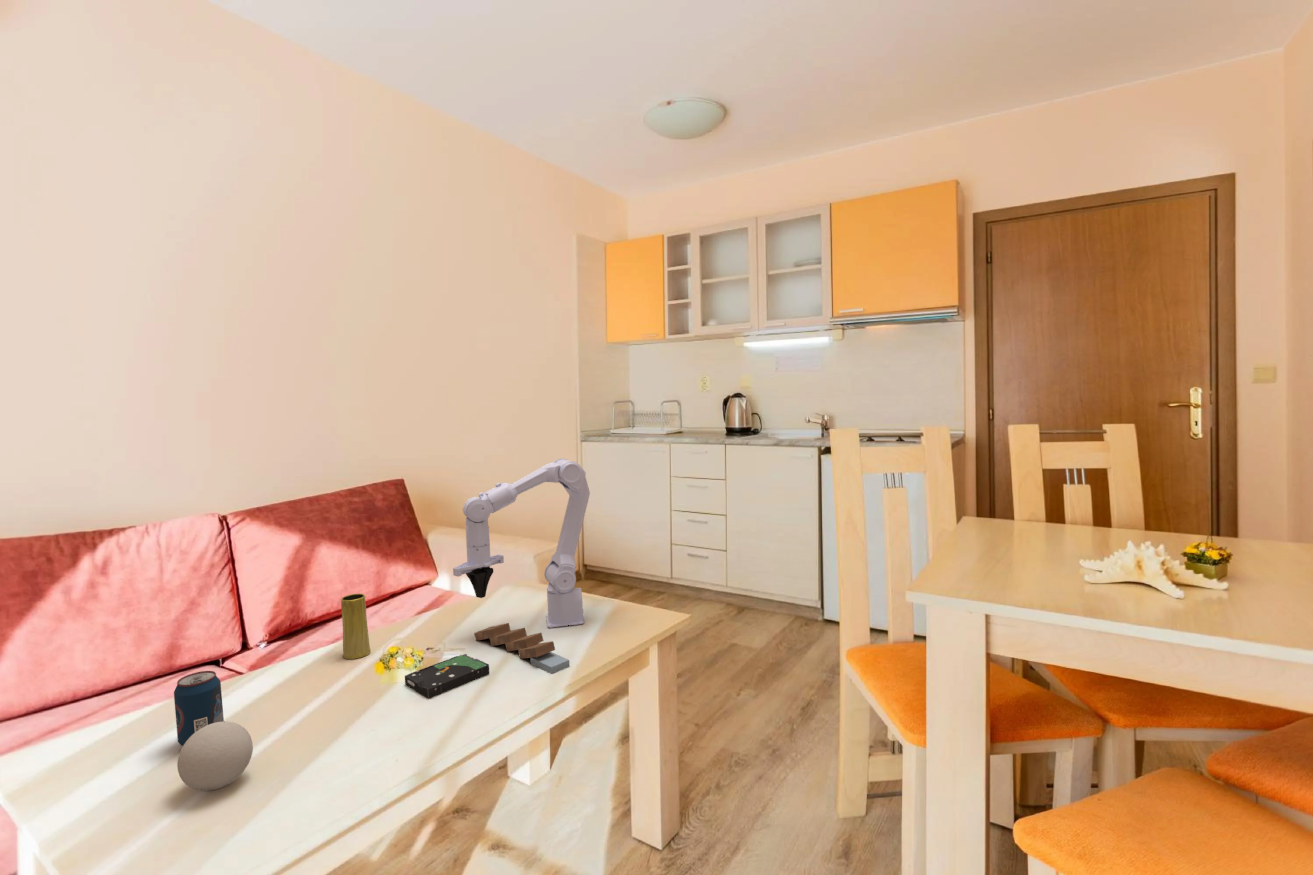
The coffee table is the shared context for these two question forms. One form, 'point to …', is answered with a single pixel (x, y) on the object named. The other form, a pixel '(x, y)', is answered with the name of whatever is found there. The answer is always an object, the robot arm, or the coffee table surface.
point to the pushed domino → (492, 631)
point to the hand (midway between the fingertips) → (480, 596)
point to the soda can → (197, 703)
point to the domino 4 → (550, 662)
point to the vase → (354, 626)
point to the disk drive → (446, 675)
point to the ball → (215, 756)
